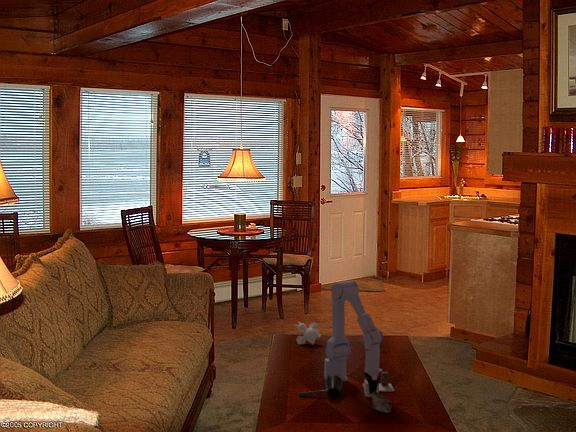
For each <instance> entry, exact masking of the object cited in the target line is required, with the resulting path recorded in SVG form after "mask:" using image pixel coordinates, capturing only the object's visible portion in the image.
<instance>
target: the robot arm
mask: <svg viewBox="0 0 576 432" xmlns="http://www.w3.org/2000/svg"><path fill="white" fill-rule="evenodd" d="M359 292H360V288H359V286H358V283H357V282H356V281H355V280H353V279H351V280H347V281H339V282H338V281H337V282H334V283H333V284H332V285H331V312H332V313H331V320H332V321H331V323H332V324H331V327H332V329H331V330H332V331H331V332H332V335H331V337H330V338H329V339H328V340H327V341H326V347H325V355H326V358H324V371H323V376H324V380H325V381H326V379H327V378H328V377H329V376H332V375H336V376H338V377H340V378H341V379H342V381H343V382H348V381H349V380H348V377H347V360H348V357H349V356H350V354H351V351H352V350H351V346H350V340H349V339H348V338H346V335H345V333H346V332H345V328H346V327H345V325H346V324H345V323H346V322H345V317H346V316H345V313H346V311H345V302H346V301H347V302H349V304H350V305H351V308H353V310H354V312H355V314H356V315H357V320H356V321H357V324H358V326H359V327H360V330H361V332H362V334H363V336H362V340H363V344H364V345H363V346H364V349H365V358H364V359H365V361H364V371H363V374H364V376H365V379H367V381H368V385H369V392H370V394H372V393H373V392H376V389H377V385H378V383H380V382H381V377H378V375H379V373H381V372H383V369H382V368H380V354H381V353H380V352H381V351H380V349H381V348H380V347H381V346H380V345H381V344H382V343H383V340H384V336H383V332H382V330H381V329H379V328H378V327H377V326H376V325H375V323H374V321H373V319H372V316H371V315H370V314H369V313H367V312H366V311H365V308H364V306H363V303H362V300H361V297H360V296H359V294H360V293H359Z"/></svg>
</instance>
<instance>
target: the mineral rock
mask: <svg viewBox="0 0 576 432" xmlns="http://www.w3.org/2000/svg"><path fill="white" fill-rule="evenodd" d="M371 395H372V397H371V408H372V410H375V411H379V412H382V413H385V414H389V413H391V411H392V408H393V404H392V402H391V401H390V400H389V399H388V398H387V397H386V396H385V395H384V394H383V393H381V392H379V393H377V392H373V393H372V394H371Z"/></svg>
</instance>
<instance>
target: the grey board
mask: <svg viewBox="0 0 576 432" xmlns="http://www.w3.org/2000/svg"><path fill="white" fill-rule="evenodd" d="M362 388H364V383H363V382H362ZM381 392H390V393H391V392H395V388H394V387H393V385H392V383H388V386H382V385H381V382H379V393H381Z"/></svg>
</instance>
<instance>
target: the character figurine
mask: <svg viewBox="0 0 576 432" xmlns="http://www.w3.org/2000/svg"><path fill="white" fill-rule="evenodd" d="M297 322H298V324H294V326H295V327H297V329H298V331H300V332H301V333H303V335H297V337H296V340H295V341H296V342H297V344H298V345H304V344H306V342H308V343H309V344H311V346H313V345H315V343H316V339H320V338H321V337H322V334H321V333H320V332H319V331H318V330H319V323H317V322H314V321H313V322H311V323H310V324H308V326H309V327H307V325H306V324H305V323H303V322H302V323H301V322H300V321H297Z"/></svg>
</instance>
